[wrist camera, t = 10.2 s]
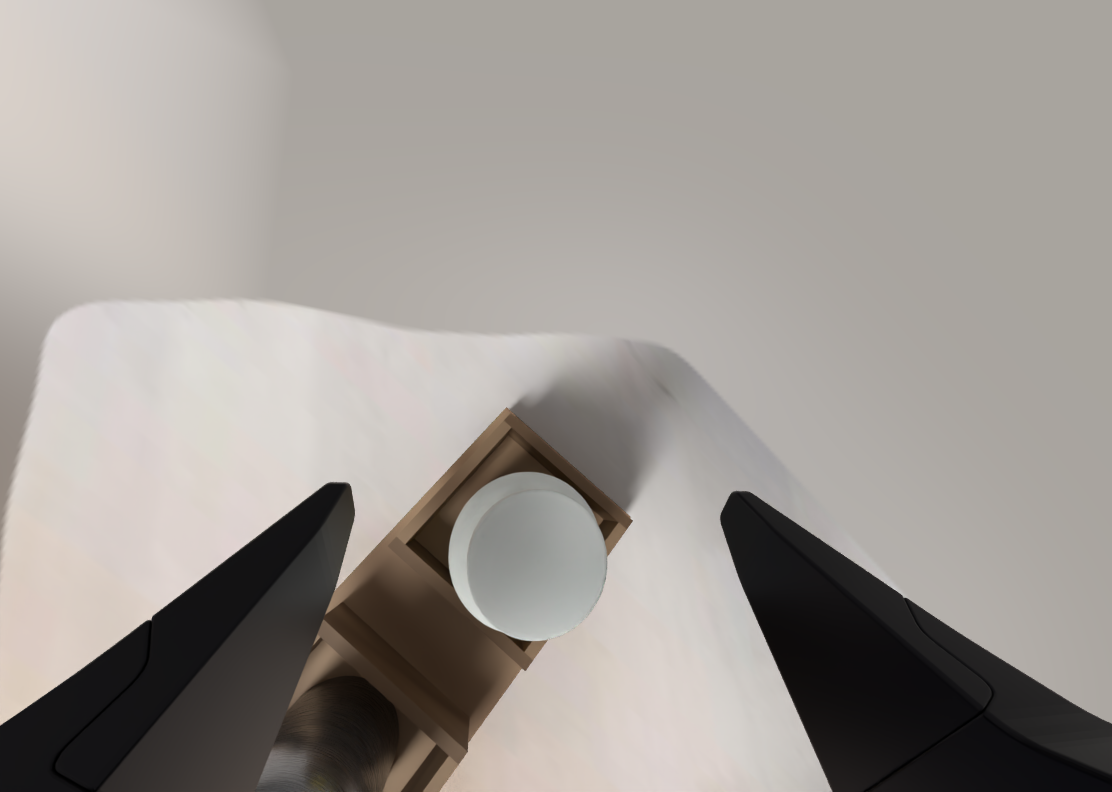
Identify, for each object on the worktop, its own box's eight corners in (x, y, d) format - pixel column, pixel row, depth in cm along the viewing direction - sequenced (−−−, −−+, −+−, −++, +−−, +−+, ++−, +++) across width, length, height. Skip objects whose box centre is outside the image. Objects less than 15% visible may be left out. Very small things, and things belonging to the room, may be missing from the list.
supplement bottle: (436, 553, 19) (395, 604, 10) (496, 459, 21) (507, 429, 12) (530, 611, 19) (573, 712, 10) (582, 512, 21) (660, 524, 12)
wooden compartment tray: (505, 412, 23) (509, 396, 19) (621, 515, 23) (649, 519, 19) (189, 752, 17) (104, 825, 13) (342, 897, 17) (301, 1015, 13)
